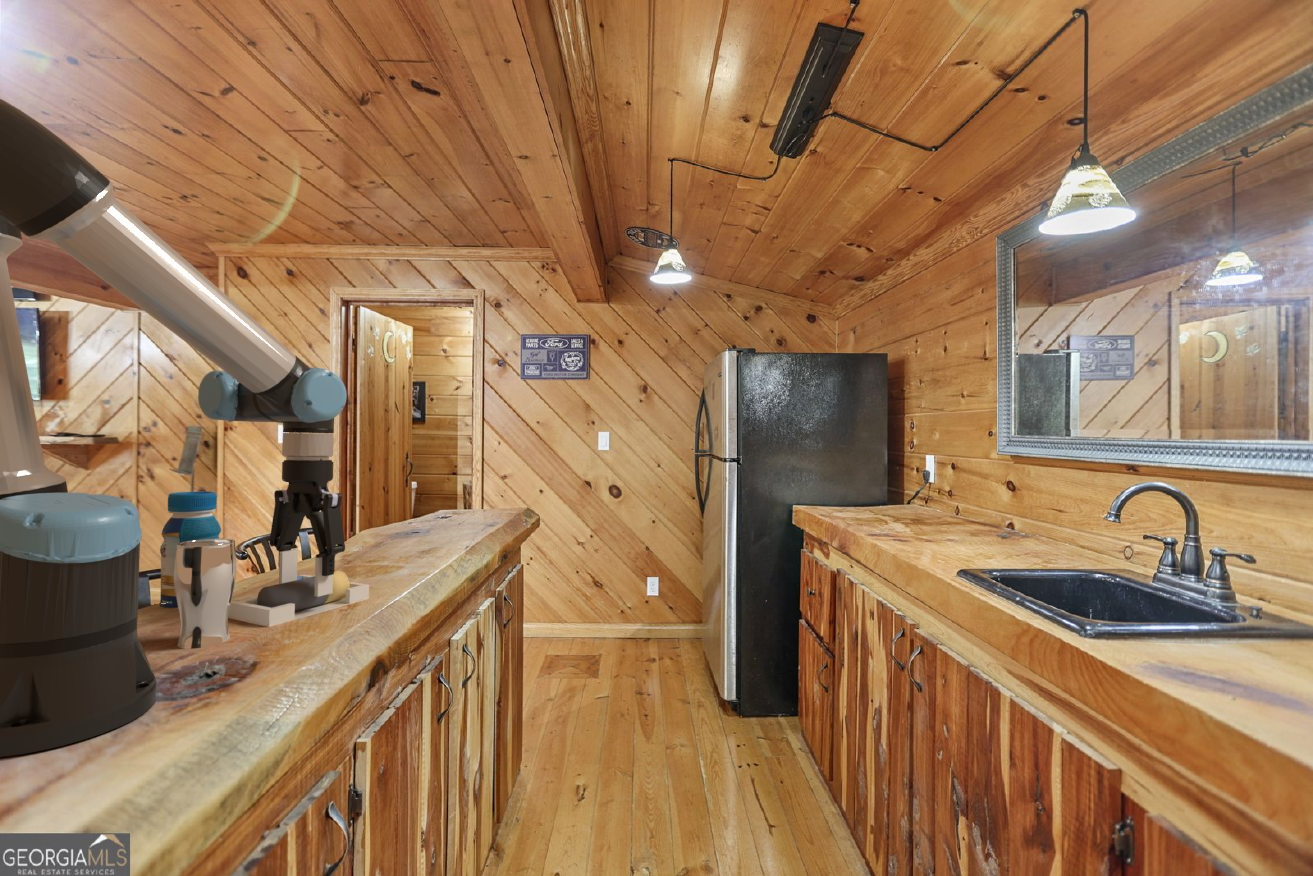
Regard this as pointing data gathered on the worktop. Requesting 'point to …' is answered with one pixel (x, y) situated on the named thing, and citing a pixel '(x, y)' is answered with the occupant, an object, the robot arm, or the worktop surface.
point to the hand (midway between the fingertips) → (305, 591)
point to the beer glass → (204, 590)
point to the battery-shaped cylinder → (302, 592)
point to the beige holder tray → (291, 607)
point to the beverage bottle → (185, 533)
